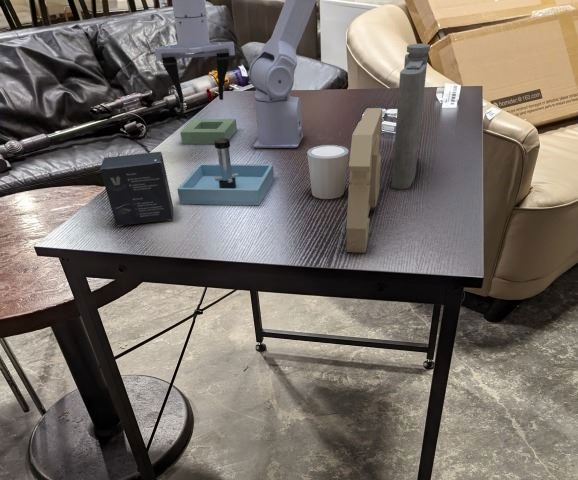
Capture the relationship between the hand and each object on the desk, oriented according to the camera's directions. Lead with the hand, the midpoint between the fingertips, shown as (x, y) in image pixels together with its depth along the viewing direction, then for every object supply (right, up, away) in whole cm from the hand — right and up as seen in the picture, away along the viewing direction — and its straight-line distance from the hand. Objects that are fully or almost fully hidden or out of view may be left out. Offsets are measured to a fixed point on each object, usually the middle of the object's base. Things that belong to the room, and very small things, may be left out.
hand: (201, 100), depth 103 cm
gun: (+29, -30, -20) cm, 46 cm away
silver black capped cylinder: (+6, -20, -9) cm, 23 cm away
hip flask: (+39, -17, -6) cm, 43 cm away
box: (-7, -28, -15) cm, 33 cm away
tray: (+6, -21, -8) cm, 23 cm away
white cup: (+24, -22, -11) cm, 35 cm away
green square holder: (-1, +1, +16) cm, 16 cm away
